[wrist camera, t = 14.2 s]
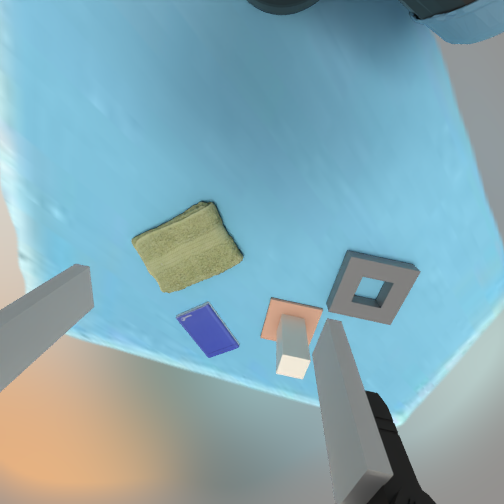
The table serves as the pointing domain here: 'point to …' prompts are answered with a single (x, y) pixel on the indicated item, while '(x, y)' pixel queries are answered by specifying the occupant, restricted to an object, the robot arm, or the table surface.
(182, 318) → the hard drive
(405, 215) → the table surface
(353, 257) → the gray square ring
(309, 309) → the pad
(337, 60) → the table surface
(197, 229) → the washcloth
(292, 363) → the plug
